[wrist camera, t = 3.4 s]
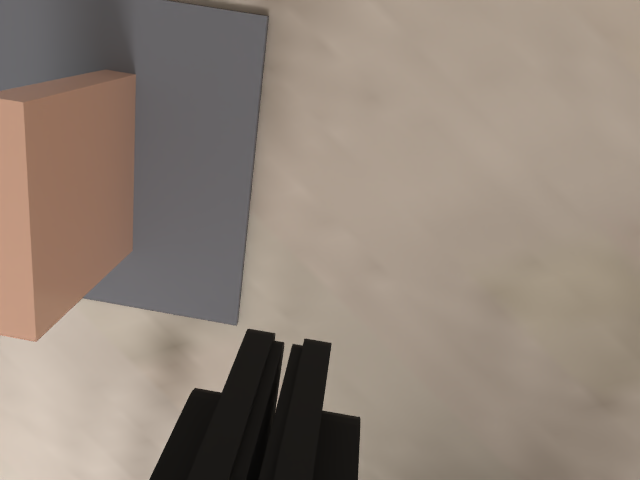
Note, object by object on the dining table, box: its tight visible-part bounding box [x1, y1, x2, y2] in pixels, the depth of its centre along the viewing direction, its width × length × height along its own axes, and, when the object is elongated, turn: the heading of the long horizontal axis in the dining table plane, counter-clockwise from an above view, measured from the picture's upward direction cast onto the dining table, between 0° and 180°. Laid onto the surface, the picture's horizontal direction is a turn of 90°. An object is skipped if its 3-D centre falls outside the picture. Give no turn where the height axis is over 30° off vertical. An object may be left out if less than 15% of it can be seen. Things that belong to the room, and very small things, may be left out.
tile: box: [0, 69, 136, 342], centre depth 22 cm, size 2×8×8 cm, turn 171°
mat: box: [0, 0, 269, 326], centre depth 26 cm, size 22×14×1 cm, turn 82°
